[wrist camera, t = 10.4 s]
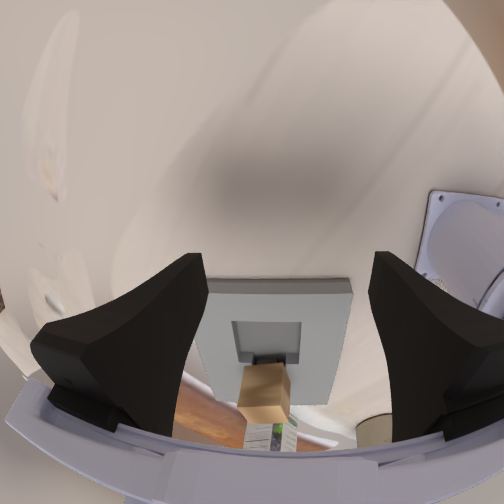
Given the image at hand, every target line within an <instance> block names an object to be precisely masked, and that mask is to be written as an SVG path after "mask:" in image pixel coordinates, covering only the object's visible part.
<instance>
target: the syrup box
mask: <svg viewBox="0 0 504 504" xmlns="http://www.w3.org/2000/svg"><path fill="white" fill-rule="evenodd" d="M297 424H298V420H297V419H296V418H294V417H293V416H291V415H290V414H289V423H273V424H250V423H249V422H248V421H247V427H246V433H245V439H244V444H243V449H246V450H259V451H280V452H296V443H297Z"/></svg>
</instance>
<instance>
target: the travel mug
mask: <svg viewBox="0 0 504 504" xmlns="http://www.w3.org/2000/svg"><path fill="white" fill-rule="evenodd" d="M356 435H357V447H358V448H363V447H371V446H377V445H384V444H389V443H392V415H390V414H388V415H381V416H377V417H373V418H371V419H368V420H366V421H364V422H363V423H361V424H360V425H359V426H358V427H357V428H356Z"/></svg>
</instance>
